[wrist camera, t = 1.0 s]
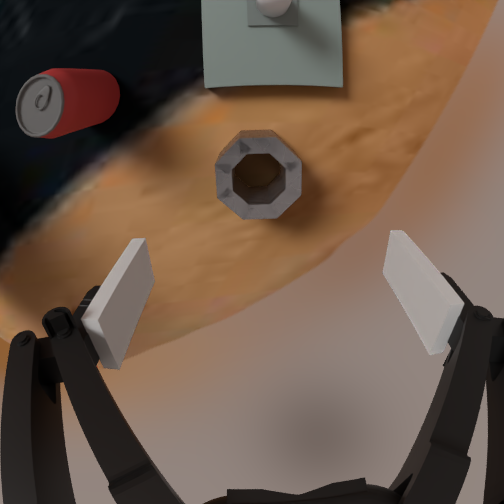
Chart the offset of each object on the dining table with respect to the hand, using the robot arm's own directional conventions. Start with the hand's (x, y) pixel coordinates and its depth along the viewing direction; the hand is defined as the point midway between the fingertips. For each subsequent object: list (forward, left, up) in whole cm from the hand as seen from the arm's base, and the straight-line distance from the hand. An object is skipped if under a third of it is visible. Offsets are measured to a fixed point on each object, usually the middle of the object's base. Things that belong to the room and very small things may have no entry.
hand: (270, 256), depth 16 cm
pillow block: (+2, +18, -20) cm, 27 cm away
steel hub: (0, 0, -20) cm, 20 cm away
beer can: (-18, +10, -21) cm, 29 cm away
